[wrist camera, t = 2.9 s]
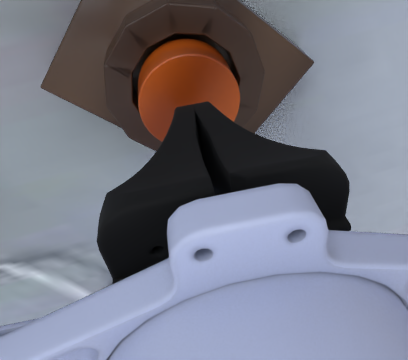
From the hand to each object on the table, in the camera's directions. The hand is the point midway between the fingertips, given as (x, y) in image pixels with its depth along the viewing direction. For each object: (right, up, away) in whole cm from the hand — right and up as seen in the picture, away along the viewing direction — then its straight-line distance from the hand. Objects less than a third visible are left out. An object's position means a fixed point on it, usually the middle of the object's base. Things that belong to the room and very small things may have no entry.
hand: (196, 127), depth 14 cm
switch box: (-1, +5, +6) cm, 8 cm away
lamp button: (-1, +2, +3) cm, 4 cm away
